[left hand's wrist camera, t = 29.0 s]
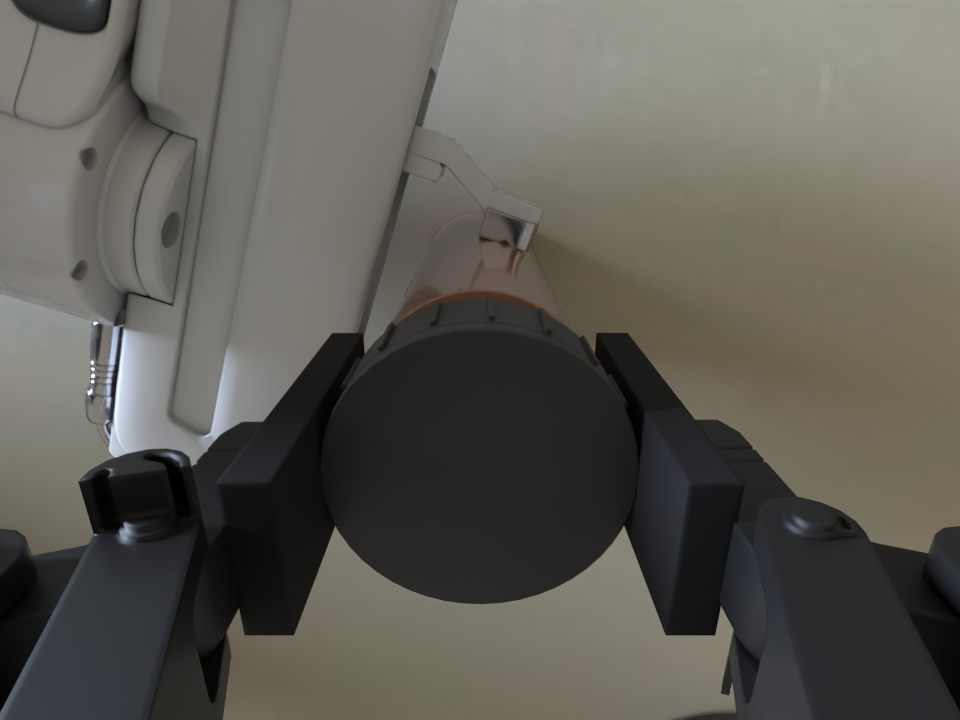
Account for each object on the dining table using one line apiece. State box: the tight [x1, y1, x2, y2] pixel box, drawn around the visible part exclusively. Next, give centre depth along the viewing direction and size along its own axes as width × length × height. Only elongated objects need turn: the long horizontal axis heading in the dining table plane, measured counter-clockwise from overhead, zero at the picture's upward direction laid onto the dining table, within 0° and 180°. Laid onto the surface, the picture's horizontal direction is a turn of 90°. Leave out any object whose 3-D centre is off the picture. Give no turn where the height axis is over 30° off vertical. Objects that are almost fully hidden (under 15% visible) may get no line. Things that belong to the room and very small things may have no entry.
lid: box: [320, 296, 640, 604], centre depth 11 cm, size 6×6×2 cm
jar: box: [391, 212, 572, 331], centre depth 19 cm, size 5×5×16 cm
